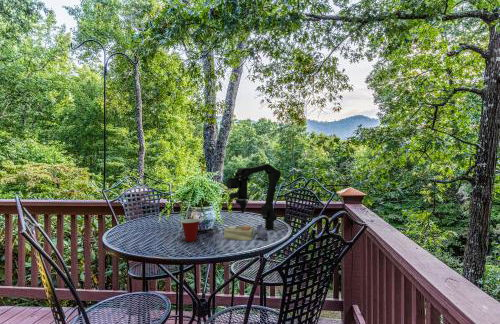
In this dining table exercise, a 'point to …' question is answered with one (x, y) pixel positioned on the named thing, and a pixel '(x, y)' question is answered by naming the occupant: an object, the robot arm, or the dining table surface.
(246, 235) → the press panel
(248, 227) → the terracotta plug
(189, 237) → the plastic cup
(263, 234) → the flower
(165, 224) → the dining table surface
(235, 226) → the grey plug
